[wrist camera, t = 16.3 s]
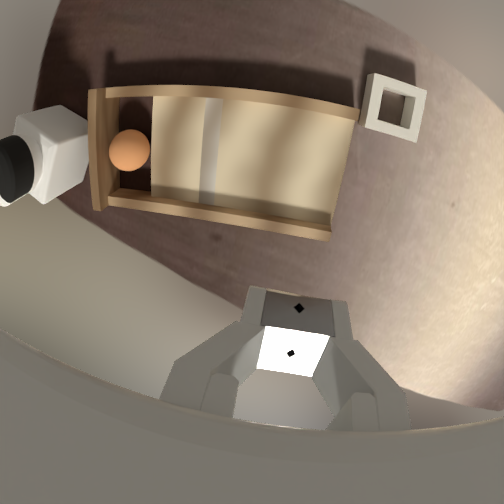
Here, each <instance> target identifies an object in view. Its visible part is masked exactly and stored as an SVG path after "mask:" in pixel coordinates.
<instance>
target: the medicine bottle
mask: <svg viewBox="0 0 504 504" xmlns="http://www.w3.org/2000/svg"><path fill="white" fill-rule="evenodd" d="M88 163H89V154H88V121H87V120H86V119H84V118H82V117H81V116H79V115H77V114H76V113H74V112H72V111H71V110H69V109H67V108H65V107H64V106H62V105H57V106H53V107H49V108H44V109H40V110H36V111H32V112H29V113H25V114H22V115H19V116H17V118H16V122H15V126H14V131H13V135H12V136H9V137H6V138H4V139H1V140H0V205H1V206H8V205H9V204H11V203H13V202H14V201H16V200H18V199H19V198H21V197H23V196H24V195H26V194H28V193H29V194H31V195H32V196H33V197H34V198H36V199H37V200H38V201H39V202H41V203H42V204H45V203H47V202H49V201H50V200H52V199H54V198H55V197H57V196H59V195H60V194H62V193H64V192H65V191H67V190H69V189H70V188H72V187H74V186H75V185H77V184H79V183H81V182H82V181H83V179H84V175H85V172H86V169H87V166H88Z"/></svg>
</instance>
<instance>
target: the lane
mask: <svg viewBox="0 0 504 504" xmlns="http://www.w3.org/2000/svg"><path fill="white" fill-rule="evenodd" d="M135 96H154V97H153V114H152V140H151V192H150V191H142V190H134V189H125V188H120V173H119V169H118V168H117V167H115V166H114V165H113V163H112V162H111V160H110V157H109V147H110V144H111V142H112V140H113V138H114V137H115V136H116V135H117V134H119V102H120V97H135ZM359 113H360V109H356V108H352V107H348V106H344V105H340V104H335V103H331V102H326V101H322V100H317V99H312V98H306V97H301V96H295V95H289V94H282V93H276V92H268V91H260V90H252V89H242V88H231V87H218V86H198V85H142V86H123V87H110V88H100V89H91V90H88V154H89V171H90V184H91V194H92V204H93V210H97V211H102V210H103V209H104V208H106V207H107V206H108V205H111V206H118V207H125V208H131V209H138V210H145V211H151V212H158V213H164V214H171V215H177V216H183V217H190V218H196V219H202V220H208V221H214V222H220V223H226V224H232V225H238V226H244V227H250V228H255V229H261V230H267V231H272V232H278V233H283V234H289V235H294V236H300V237H305V238H311V239H316V240H321V241H327V242H329V241H330V237H331V233H332V231H331V222H332V218H333V214H334V211H335V207H336V203H337V199H338V195H339V190H340V186H341V182H342V178H343V173H344V169H345V165H346V160H347V156H348V151H349V146H350V141H351V137H352V132H353V127H354V122H355V121H358V118H359Z"/></svg>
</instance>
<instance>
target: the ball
mask: <svg viewBox="0 0 504 504" xmlns="http://www.w3.org/2000/svg"><path fill="white" fill-rule="evenodd" d="M149 153H150V144H149V141H148V139H147V137H146V136H145V135H144V134H143V133H141V132H140V131H137V130H132V129H130V130H125V131H122V132H120V133H119V134H117V135H116V136H115V137H114V138H113V140H112V142H111V144H110V147H109V157H110V160H111V162H112V163H113V165H114V166H115V167H117V168H118V169H120V170H123V171H133V170H136V169H138V168H140V167H141V166H142V165H143V164H144V163H145V162H146V160H147V159H148V157H149Z"/></svg>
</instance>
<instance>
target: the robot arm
mask: <svg viewBox="0 0 504 504" xmlns="http://www.w3.org/2000/svg"><path fill="white" fill-rule="evenodd" d="M257 368H261V369H267V370H275V371H282V372H284V371H285V372H288V373H295V374H301V375H308V376H312V377H311V378H312V379H313V381H314V383H315V385H316V387H317V388H318V390H319V392H320V393H321V395H322V397H323V398H324V400H325V402H326V404H327V406H328V407H329V409H330V411H331V412H332V414H333V416H334V419H333V421H332V422H331V423H330V424H329V425H328V427H327V428H326V429H325V430H317V429H305V428H296V427H287V426H279V425H271V424H265V423H258V422H252V421H246V420H241V419H235V418H233V414H234V408H235V403H236V397H237V391H238V387H239V386H240V385H241V384H242V383H243V382H244V381H245V380H246V379H247V378H248V377H249V376H250V375H251V374H252V373H253V372H254V371H255V370H256V369H257ZM0 504H504V416H503V417H499V418H495V419H490V420H485V421H480V422H474V423H469V424H462V425H456V426H448V427H440V428H431V429H420V430H412V428H411V422H410V416H409V410H408V405H407V400H406V395H405V392H404V391H403V390H402V389H401V388H400V387H399V386H398V384H397V383H396V382H395V381H394V380H393V379H392V378H391V377H390V375H389V374H388V373H387V372H386V371H385V370H384V369H383V368H382V367H381V365H380V364H379V363H378V362H377V361H376V360H375V359H374V358H373V357H372V355H371V354H370V353H369V352H368V351H367V350H366V349H365V348H364V347H363V346H362V344H361V343H360V342H359V341H358V340H353V334H352V328H351V322H350V315H349V309H348V304H347V302H346V301H339V300H331V299H330V300H328V299H321V298H315V297H309V296H303V295H298V294H293V293H288V292H283V291H278V290H273V289H268V288H267V291H266V288H262V287H257V286H252V285H250V287H249V289H248V293H247V297H246V301H245V305H244V309H243V313H242V317H241V321H240V322H237V321H235V322H233V323H232V324H230V325H229V326H227V327H226V328H224V329H223V330H221V331H220V332H218V333H217V334H215V335H214V336H212V337H211V338H209V339H208V340H207V341H205V342H203V343H202V344H200V345H199V346H197V347H196V348H194V349H193V350H191V351H190V352H188V353H187V354H185V355H183V356H182V357H180V358H179V359H177V360H176V361H175V362H174V364H173V367H172V369H171V372H170V374H169V376H168V379H167V381H166V384H165V386H164V389H163V391H162V393H161V396H160V398H159V399H156V398H152V397H149V396H146V395H143V394H140V393H137V392H134V391H131V390H129V389H126V388H123V387H120V386H118V385H115V384H112V383H110V382H107V381H105V380H102V379H100V378H97V377H95V376H92V375H90V374H88V373H85V372H83V371H81V370H79V369H76V368H74V367H72V366H70V365H67V364H65V363H63V362H61V361H59V360H57V359H55V358H53V357H51V356H49V355H47V354H45V353H43V352H41V351H40V350H38V349H36V348H34V347H32V346H30V345H28V344H26V343H25V342H23V341H21V340H19V339H18V338H16V337H15V336H13V335H11V334H10V333H7V332H6V331H5V330H3V329H1V328H0Z"/></svg>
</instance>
